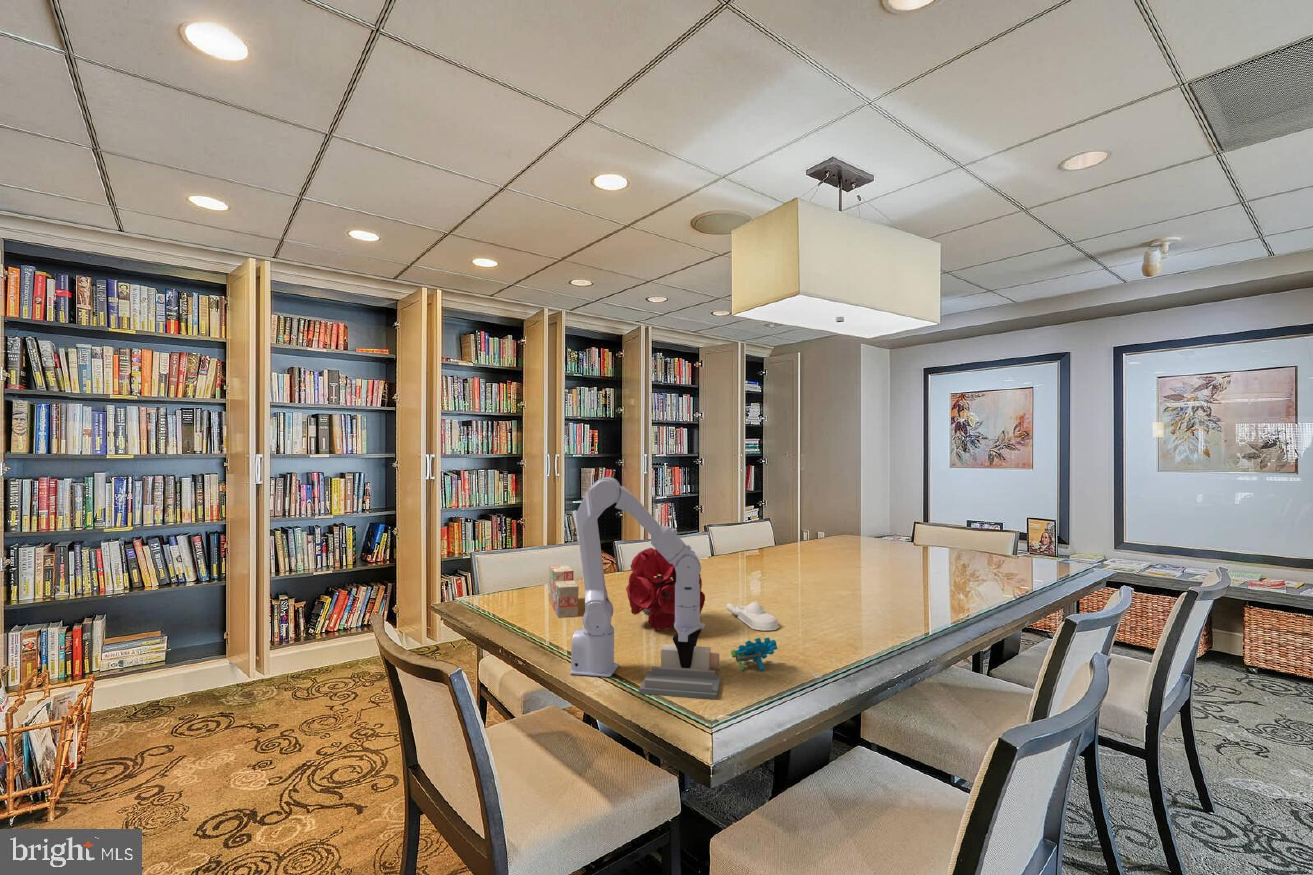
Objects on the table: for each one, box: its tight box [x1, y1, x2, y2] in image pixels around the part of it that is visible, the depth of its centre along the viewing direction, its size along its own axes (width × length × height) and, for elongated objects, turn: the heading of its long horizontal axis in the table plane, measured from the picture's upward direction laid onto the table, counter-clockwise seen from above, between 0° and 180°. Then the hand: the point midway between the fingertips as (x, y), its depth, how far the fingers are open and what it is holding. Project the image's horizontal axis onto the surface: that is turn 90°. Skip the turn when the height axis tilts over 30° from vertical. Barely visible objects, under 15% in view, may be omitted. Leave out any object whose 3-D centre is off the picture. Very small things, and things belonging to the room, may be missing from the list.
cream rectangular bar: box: [660, 643, 720, 671], centre depth 136 cm, size 13×4×5 cm, turn 79°
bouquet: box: [625, 547, 706, 630], centre depth 174 cm, size 22×24×30 cm
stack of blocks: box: [548, 564, 580, 618], centre depth 191 cm, size 21×6×12 cm, turn 18°
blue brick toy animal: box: [730, 637, 778, 672], centre depth 138 cm, size 11×6×10 cm
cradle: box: [638, 665, 721, 700], centre depth 126 cm, size 16×10×2 cm, turn 79°
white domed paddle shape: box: [725, 600, 780, 632], centre depth 176 cm, size 10×20×6 cm, turn 14°
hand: (687, 664), depth 136 cm, fingers closed on cream rectangular bar, 4 cm apart
